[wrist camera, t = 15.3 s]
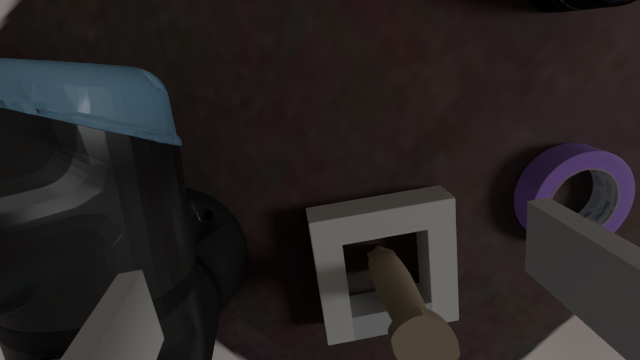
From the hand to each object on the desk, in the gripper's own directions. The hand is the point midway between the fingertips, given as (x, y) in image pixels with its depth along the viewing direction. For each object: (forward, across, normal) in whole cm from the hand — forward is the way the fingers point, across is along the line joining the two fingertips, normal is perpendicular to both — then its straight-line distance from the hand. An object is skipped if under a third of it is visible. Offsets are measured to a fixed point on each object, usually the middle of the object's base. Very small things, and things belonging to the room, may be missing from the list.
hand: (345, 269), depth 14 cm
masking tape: (+29, +29, -13) cm, 43 cm away
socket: (+29, +7, -17) cm, 34 cm away
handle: (+29, +7, -17) cm, 34 cm away
